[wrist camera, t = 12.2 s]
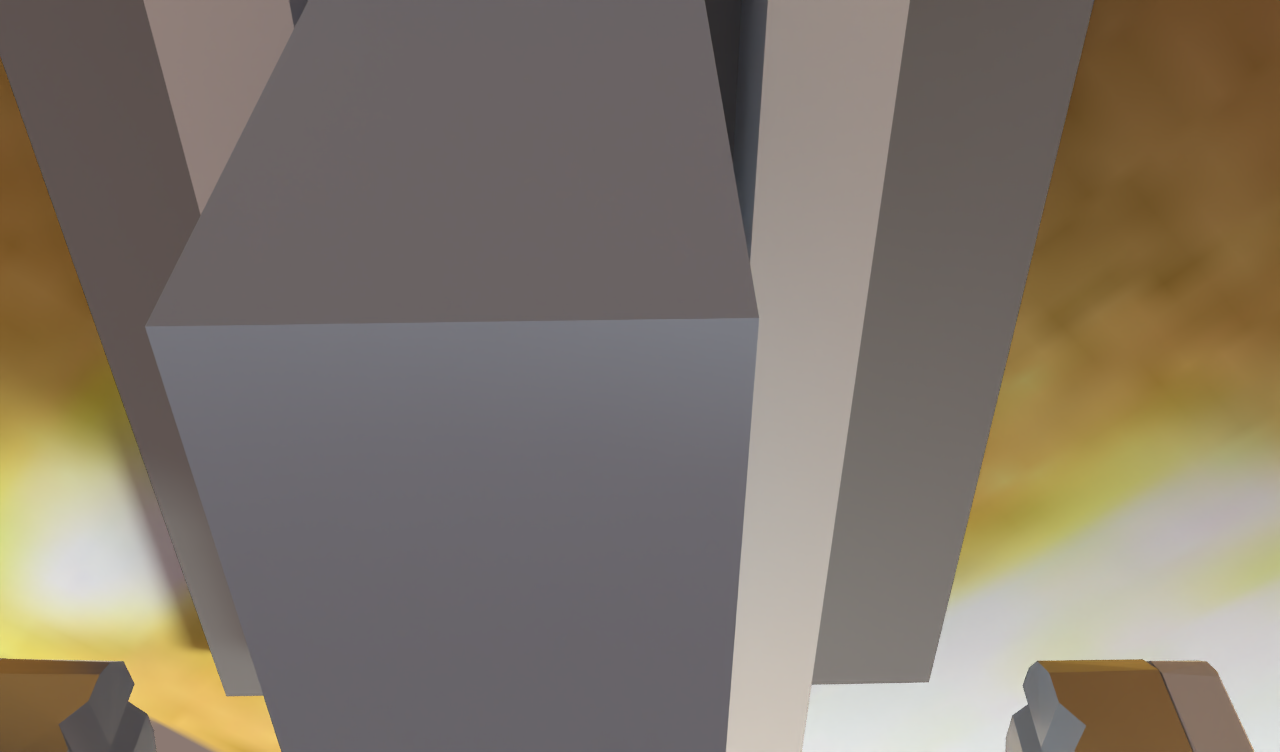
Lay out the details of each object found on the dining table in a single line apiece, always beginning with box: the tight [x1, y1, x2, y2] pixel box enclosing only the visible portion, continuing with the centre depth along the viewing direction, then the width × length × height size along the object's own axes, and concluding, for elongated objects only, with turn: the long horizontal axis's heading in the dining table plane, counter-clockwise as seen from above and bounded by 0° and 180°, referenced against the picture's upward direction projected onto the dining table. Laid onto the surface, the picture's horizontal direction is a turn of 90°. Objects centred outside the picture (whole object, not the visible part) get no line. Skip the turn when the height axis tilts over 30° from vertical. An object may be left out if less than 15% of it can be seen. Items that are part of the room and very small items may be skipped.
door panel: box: [145, 0, 759, 752], centre depth 14 cm, size 3×12×10 cm, turn 0°
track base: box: [0, 0, 1094, 752], centre depth 17 cm, size 14×21×4 cm, turn 0°
